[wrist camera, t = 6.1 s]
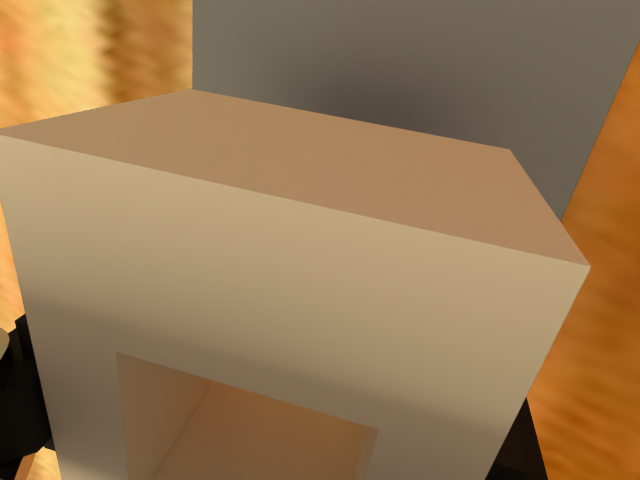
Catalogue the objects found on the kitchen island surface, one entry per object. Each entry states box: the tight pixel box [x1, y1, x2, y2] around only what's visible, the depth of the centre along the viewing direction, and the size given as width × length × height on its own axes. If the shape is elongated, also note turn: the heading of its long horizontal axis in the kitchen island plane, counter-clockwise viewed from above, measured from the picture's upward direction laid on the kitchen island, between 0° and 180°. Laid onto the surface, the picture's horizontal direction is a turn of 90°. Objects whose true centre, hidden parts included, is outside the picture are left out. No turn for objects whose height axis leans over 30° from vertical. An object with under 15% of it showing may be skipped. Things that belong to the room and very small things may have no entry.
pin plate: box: [193, 0, 640, 222], centre depth 20 cm, size 19×19×7 cm
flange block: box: [0, 89, 591, 480], centre depth 9 cm, size 10×7×5 cm
